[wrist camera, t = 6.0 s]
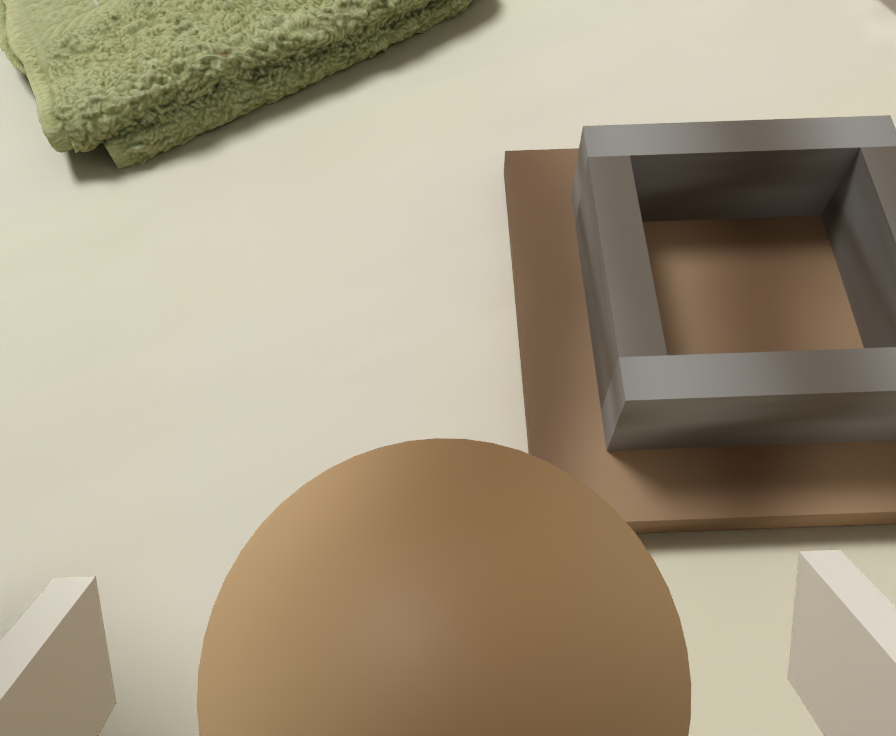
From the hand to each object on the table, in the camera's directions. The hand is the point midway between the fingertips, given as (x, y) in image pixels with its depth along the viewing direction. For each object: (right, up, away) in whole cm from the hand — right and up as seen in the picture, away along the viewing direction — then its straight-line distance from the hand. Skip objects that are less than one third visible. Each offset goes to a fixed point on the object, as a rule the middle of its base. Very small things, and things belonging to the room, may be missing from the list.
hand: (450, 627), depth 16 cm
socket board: (+9, +6, +10) cm, 15 cm away
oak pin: (0, -5, +4) cm, 6 cm away
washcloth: (-9, +19, +19) cm, 28 cm away
